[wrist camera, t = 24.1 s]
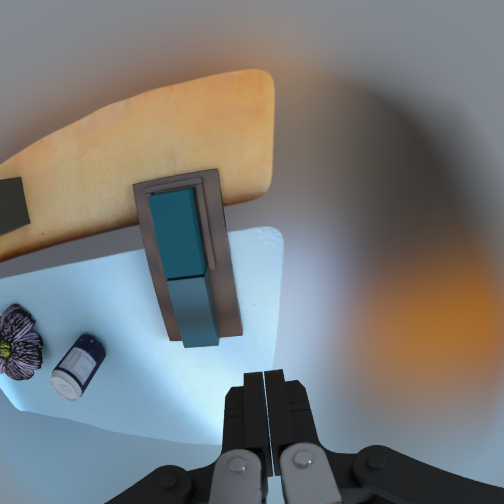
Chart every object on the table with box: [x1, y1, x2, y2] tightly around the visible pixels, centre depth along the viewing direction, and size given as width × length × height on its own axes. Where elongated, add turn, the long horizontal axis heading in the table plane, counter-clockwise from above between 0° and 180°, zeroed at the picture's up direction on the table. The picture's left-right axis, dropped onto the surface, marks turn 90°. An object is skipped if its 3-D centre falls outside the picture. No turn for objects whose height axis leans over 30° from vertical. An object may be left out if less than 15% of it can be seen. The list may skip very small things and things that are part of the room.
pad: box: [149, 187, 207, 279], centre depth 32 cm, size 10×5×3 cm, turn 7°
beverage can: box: [50, 335, 106, 401], centre depth 35 cm, size 6×6×12 cm
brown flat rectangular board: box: [133, 169, 243, 348], centre depth 34 cm, size 23×11×4 cm, turn 7°
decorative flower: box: [0, 304, 44, 381], centre depth 36 cm, size 15×12×15 cm
